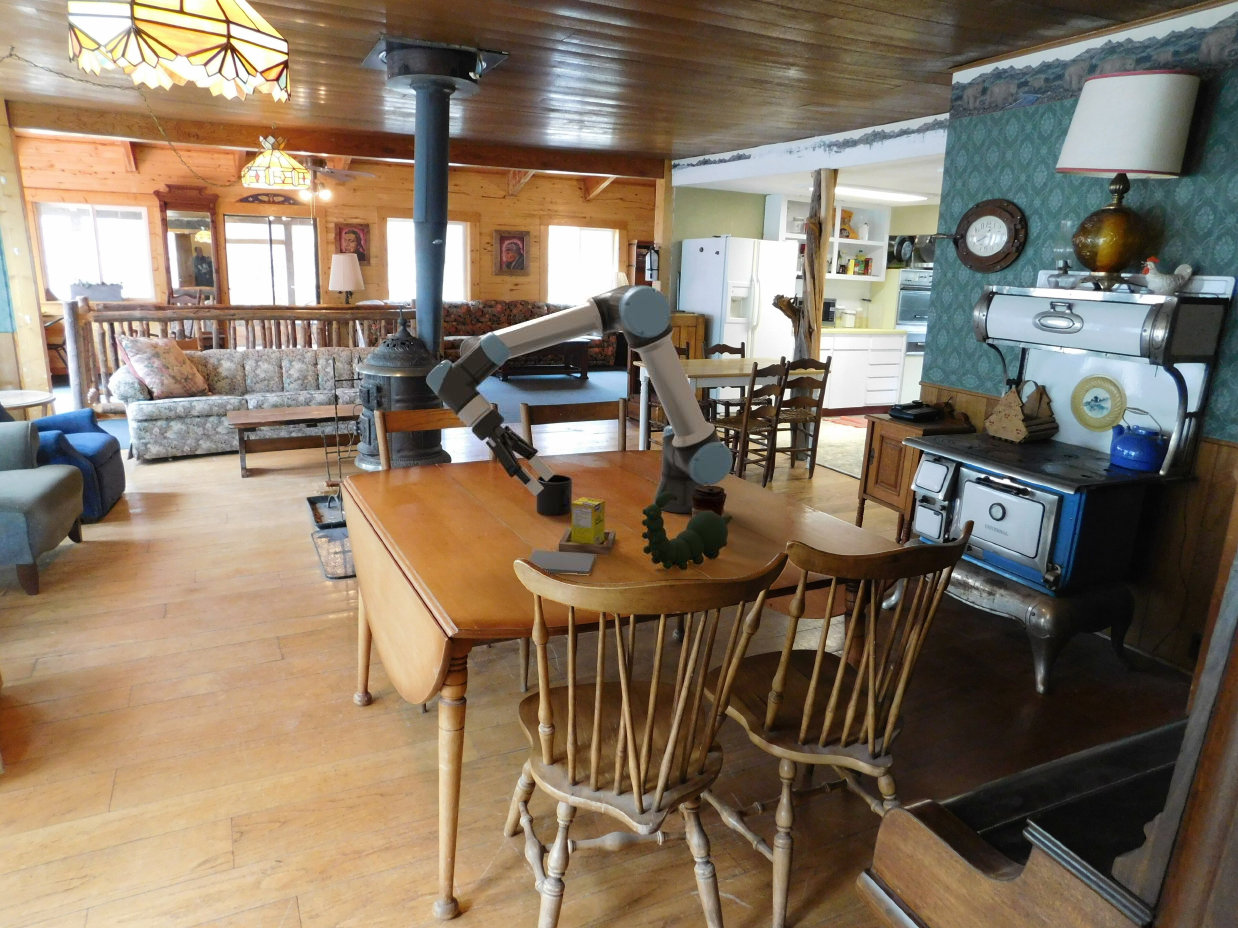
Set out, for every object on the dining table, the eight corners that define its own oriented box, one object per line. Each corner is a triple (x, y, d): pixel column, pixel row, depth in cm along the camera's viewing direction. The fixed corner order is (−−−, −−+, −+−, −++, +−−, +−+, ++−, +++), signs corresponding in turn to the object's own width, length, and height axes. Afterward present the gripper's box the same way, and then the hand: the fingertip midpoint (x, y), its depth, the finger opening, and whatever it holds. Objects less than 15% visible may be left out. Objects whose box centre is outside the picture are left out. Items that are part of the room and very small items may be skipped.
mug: (553, 520, 206) (554, 487, 203) (530, 509, 215) (530, 477, 213) (583, 515, 211) (584, 482, 209) (559, 504, 220) (559, 472, 218)
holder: (615, 538, 193) (615, 530, 192) (609, 555, 181) (610, 546, 181) (567, 535, 194) (567, 527, 193) (558, 551, 182) (558, 543, 182)
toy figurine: (663, 587, 168) (746, 555, 182) (660, 503, 162) (746, 477, 176) (635, 573, 175) (717, 544, 189) (632, 492, 170) (717, 468, 184)
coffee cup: (713, 547, 189) (717, 494, 186) (682, 540, 193) (685, 488, 190) (728, 537, 196) (732, 487, 193) (698, 531, 200) (701, 481, 197)
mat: (595, 558, 179) (595, 553, 179) (588, 575, 168) (588, 571, 168) (534, 554, 180) (534, 550, 180) (524, 571, 170) (524, 567, 169)
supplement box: (604, 543, 189) (605, 499, 187) (593, 551, 184) (594, 505, 181) (582, 539, 191) (583, 496, 189) (570, 546, 186) (571, 502, 184)
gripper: (485, 419, 196) (544, 481, 198) (454, 439, 172) (522, 509, 174) (506, 399, 194) (565, 462, 196) (478, 416, 170) (546, 487, 172)
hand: (545, 484), depth 185 cm, fingers open, 13 cm apart
